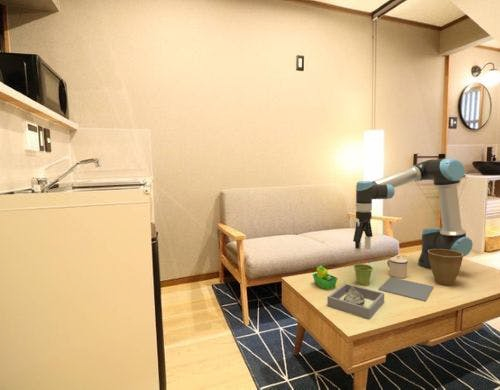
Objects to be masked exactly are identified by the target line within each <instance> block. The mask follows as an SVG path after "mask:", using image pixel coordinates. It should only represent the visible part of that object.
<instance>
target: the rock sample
mask: <svg viewBox="0 0 500 390" xmlns="http://www.w3.org/2000/svg"><path fill="white" fill-rule="evenodd" d="M342 300H344V301H347V302H350V303H354V304H357V305H360V306H363V305H365V302H366V300H365V297H363V296H362V295H361V294H360V293H359V292H358V291H356V290H355V289H354V288H353V287H351V289H350V290H349V292H348V293H347V292H346V295H345V296H344V298H343V299H342Z"/></svg>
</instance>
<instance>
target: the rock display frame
mask: <svg viewBox="0 0 500 390" xmlns="http://www.w3.org/2000/svg"><path fill="white" fill-rule="evenodd" d="M351 287H353V288H354V289H355V290H356V291H358V292H359V293H360V294H361V295H362V296H363V298H364V299H369V300H373V301H372V302H371V304H370V305H369V306H368V307H367V306H363V305H357V304H354V303H350V302H347V301H344V300H343V299H340V298H342V297H343V296H344V295H345V294H347V293H348V292H349V290H350V289H351ZM326 301H327V304H326V305H327V306H328V307H331V308H333V309H338V310H340V311H343V312H347V313H350V314H353V315H355V316H358V317H362V318H365V319H369V320H370V319H371V318H372V317H373V316H374V314H375V313H376V312H377V311H378V310H379V309H380V308H381V306H382V305H383V304H384V303H385V293H384V292H382V291H377V290H374V289H373V290H372V289H370V288H369V289H368V288H365V287H361V286H357V285H354V284H349V283H343V284H342V285H341V286H340V287H339V288H337V289H335V291H333V292H332V293H330V294H329V295H328V296H327V300H326Z"/></svg>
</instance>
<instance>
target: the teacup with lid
mask: <svg viewBox="0 0 500 390" xmlns="http://www.w3.org/2000/svg"><path fill="white" fill-rule="evenodd" d="M386 264H387V266H388V268H389V275H390V277H393V278H397V279H405V278H407V276H408V260H407V259H406V258H404V257H402V256H401V255H400V254H396V255H395V256H392V257H390V258H389V259H388V260H387V262H386Z"/></svg>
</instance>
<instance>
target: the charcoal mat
mask: <svg viewBox="0 0 500 390" xmlns="http://www.w3.org/2000/svg"><path fill="white" fill-rule="evenodd" d="M434 287H435V286H433V285H429V284H425V283H419V282H415V281H412V280H411V281H410V280H406V279H403V278H396V277H392V276H390V277H389V278H388V279H386V280H385V282H384V283H383V284H382V285H381V286H380V287H378V291H380V292H385V293H389V294H393V295H397V296H401V297H405V298H409V299H414V300H417V301H421V302H427V300H428V298H429V297H430V295H431V292H432V291H433V289H434Z"/></svg>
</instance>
